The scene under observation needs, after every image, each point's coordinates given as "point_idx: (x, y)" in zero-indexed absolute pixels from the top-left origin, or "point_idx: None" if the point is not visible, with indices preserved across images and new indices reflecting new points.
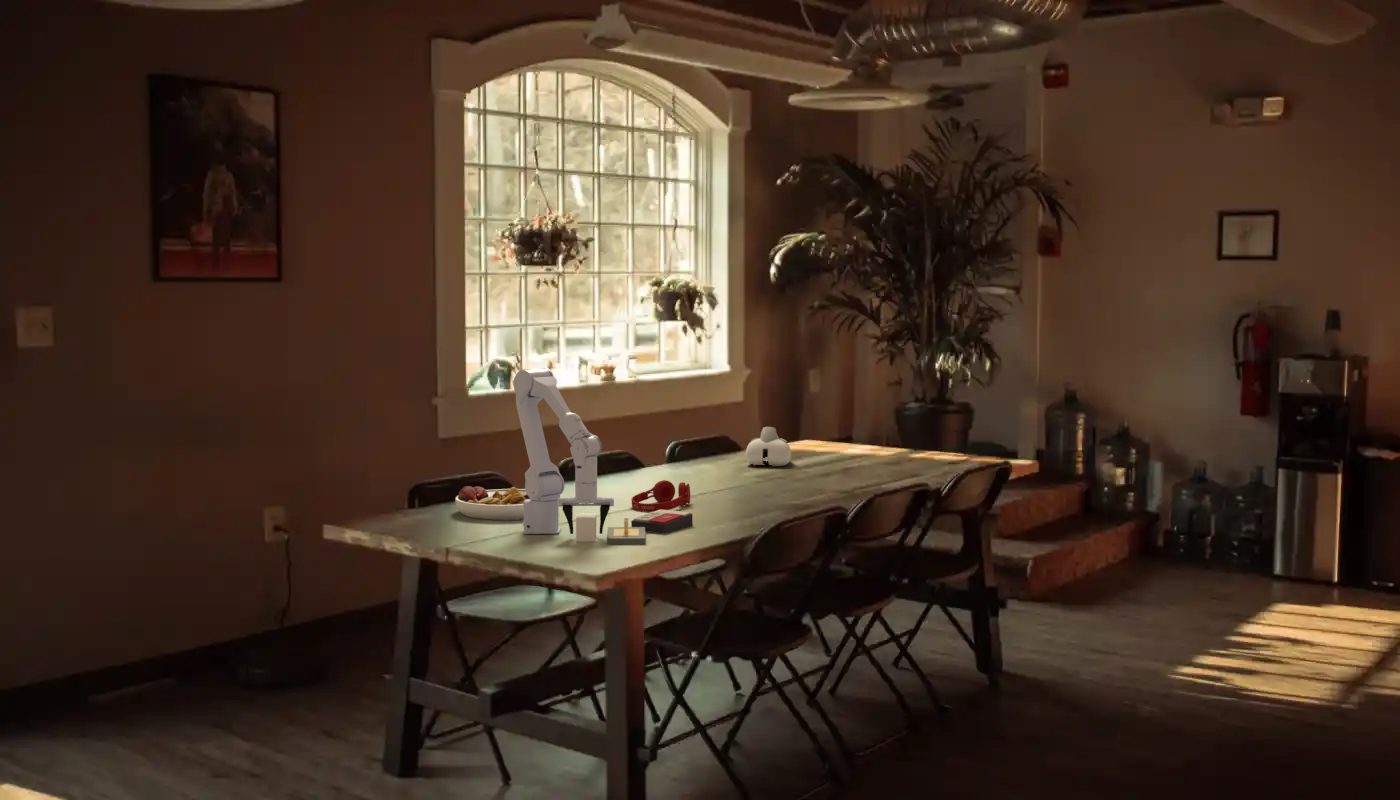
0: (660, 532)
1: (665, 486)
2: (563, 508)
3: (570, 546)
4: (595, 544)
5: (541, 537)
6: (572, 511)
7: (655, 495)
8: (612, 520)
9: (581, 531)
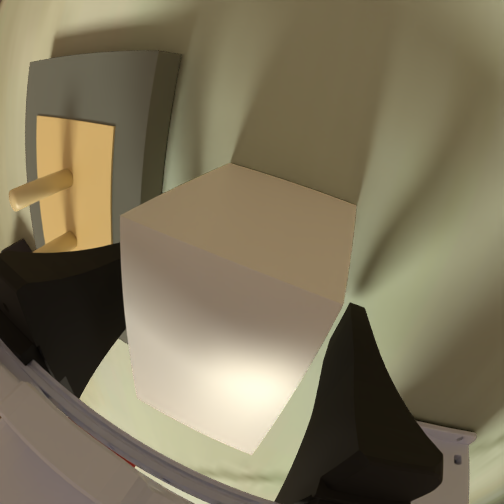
0: (28, 250)
1: None
2: (415, 495)
3: (438, 50)
4: (248, 61)
5: (467, 378)
6: (295, 468)
7: None
8: (156, 436)
9: (307, 216)
